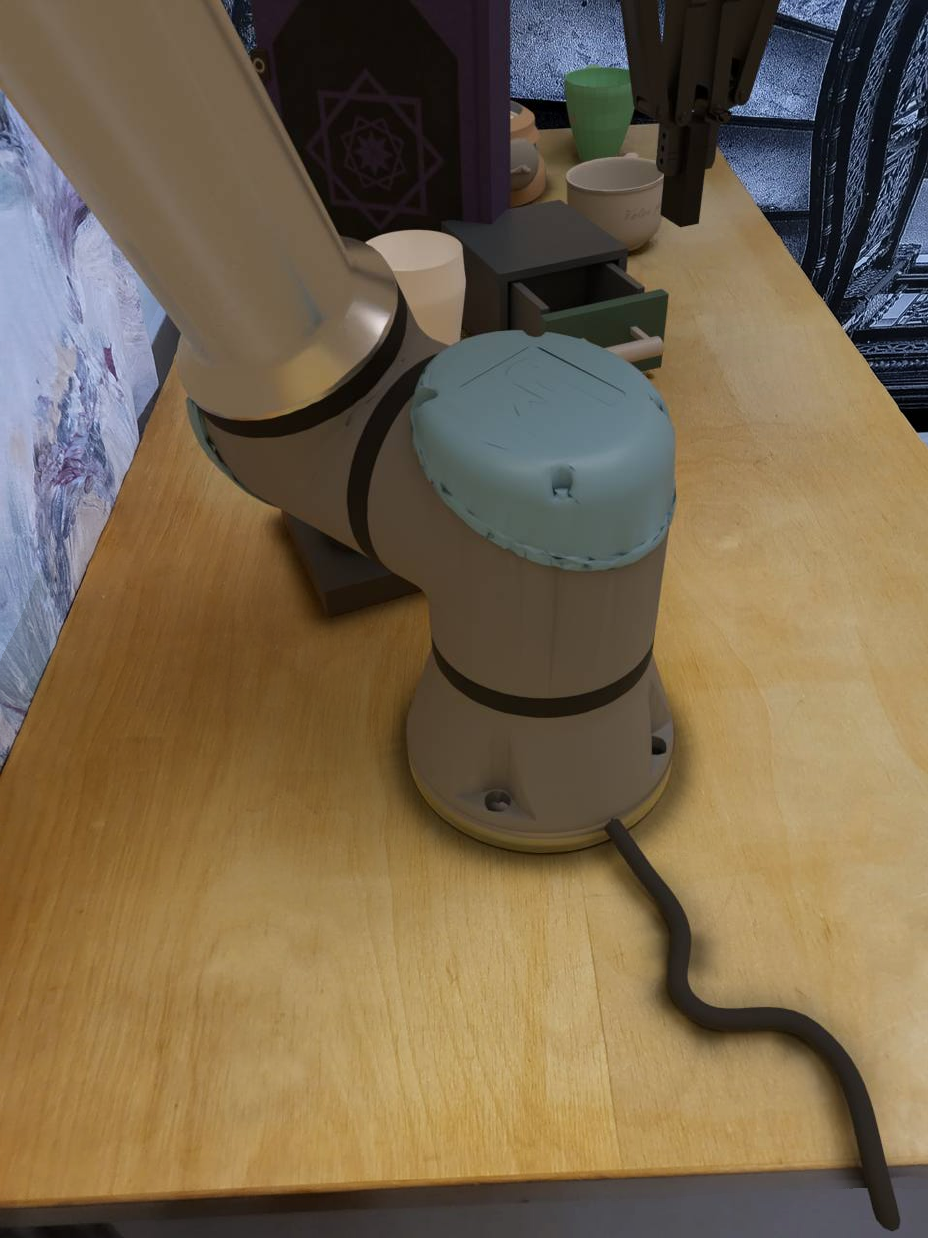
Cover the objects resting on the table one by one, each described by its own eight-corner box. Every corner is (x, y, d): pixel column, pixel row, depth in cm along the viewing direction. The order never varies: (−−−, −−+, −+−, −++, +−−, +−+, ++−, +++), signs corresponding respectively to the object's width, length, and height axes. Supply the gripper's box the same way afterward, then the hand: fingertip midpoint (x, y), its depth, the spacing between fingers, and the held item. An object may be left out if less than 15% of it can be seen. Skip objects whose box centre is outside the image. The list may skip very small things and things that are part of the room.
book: (512, 292, 106) (512, -45, 86) (491, 317, 102) (486, -31, 82) (313, 265, 113) (270, -53, 93) (286, 288, 109) (235, -40, 88)
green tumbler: (641, 168, 132) (647, 84, 125) (566, 172, 132) (569, 88, 125) (621, 134, 143) (626, 55, 136) (552, 138, 143) (554, 59, 136)
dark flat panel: (465, 577, 70) (463, 531, 68) (328, 617, 68) (321, 571, 65) (407, 489, 79) (403, 445, 76) (283, 521, 76) (274, 476, 73)
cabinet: (621, 338, 96) (628, 247, 91) (499, 366, 93) (498, 273, 87) (557, 284, 106) (560, 198, 100) (444, 308, 103) (440, 221, 97)
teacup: (635, 269, 108) (641, 193, 103) (546, 251, 113) (548, 177, 107) (685, 225, 117) (693, 153, 112) (601, 210, 121) (605, 140, 116)
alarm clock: (548, 89, 128) (542, 147, 111) (547, 165, 134) (541, 231, 117) (416, 91, 129) (389, 148, 112) (420, 166, 136) (396, 231, 119)
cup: (457, 408, 88) (452, 274, 80) (358, 400, 89) (342, 268, 81) (477, 359, 94) (474, 231, 86) (384, 353, 96) (372, 226, 88)
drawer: (687, 389, 87) (696, 313, 82) (566, 419, 84) (569, 342, 79) (595, 312, 99) (598, 242, 94) (486, 336, 96) (485, 265, 91)
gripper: (783, -224, 59) (728, 187, 75) (587, -210, 56) (572, 217, 72) (867, -221, 54) (789, 220, 70) (656, -205, 51) (623, 255, 67)
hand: (679, 218), depth 71 cm, fingers closed
